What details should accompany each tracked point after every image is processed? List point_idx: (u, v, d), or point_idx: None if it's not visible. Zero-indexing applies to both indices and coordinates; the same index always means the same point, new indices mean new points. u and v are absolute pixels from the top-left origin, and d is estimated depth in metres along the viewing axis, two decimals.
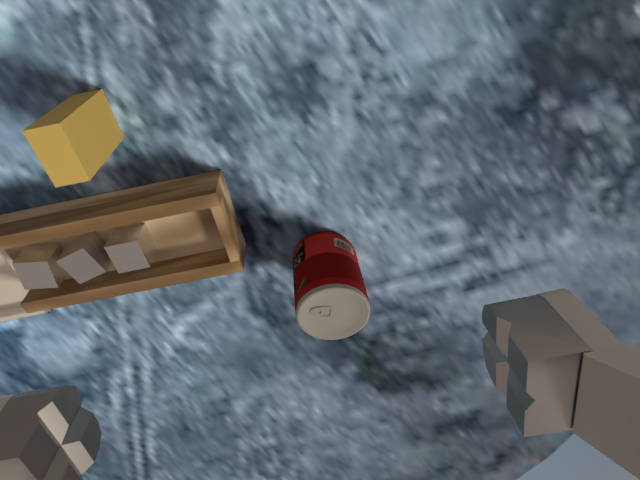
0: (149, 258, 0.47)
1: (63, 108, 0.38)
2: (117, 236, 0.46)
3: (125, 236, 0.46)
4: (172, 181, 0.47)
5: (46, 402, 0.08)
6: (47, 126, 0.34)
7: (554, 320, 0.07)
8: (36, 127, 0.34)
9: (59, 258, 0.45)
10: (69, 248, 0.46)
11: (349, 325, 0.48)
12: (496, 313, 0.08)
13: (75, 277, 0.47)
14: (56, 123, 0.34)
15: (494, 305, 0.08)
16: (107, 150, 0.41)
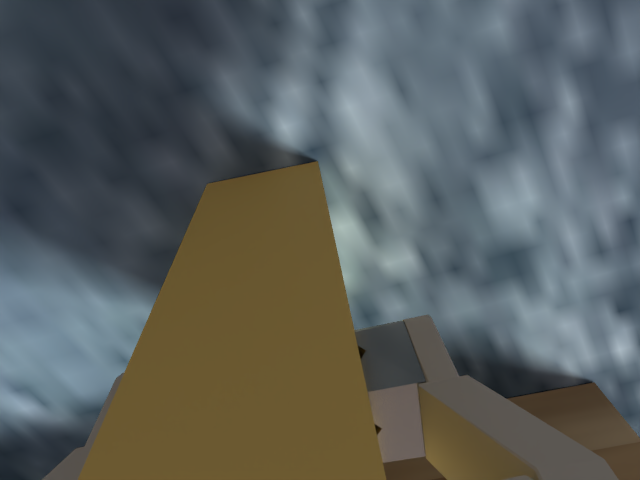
0: None
1: (235, 280, 0.07)
2: None
3: None
4: None
5: None
6: None
7: (405, 348, 0.07)
8: None
9: None
10: None
11: None
12: (356, 340, 0.08)
13: None
14: None
15: (357, 331, 0.08)
16: None
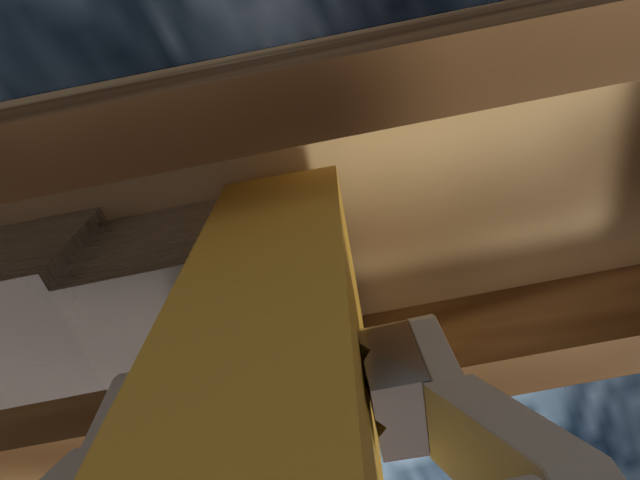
0: None
1: (241, 288, 0.07)
2: (114, 246, 0.11)
3: (152, 242, 0.11)
4: None
5: None
6: None
7: (410, 347, 0.07)
8: None
9: None
10: None
11: None
12: (360, 339, 0.08)
13: None
14: None
15: (361, 330, 0.08)
16: (376, 432, 0.09)
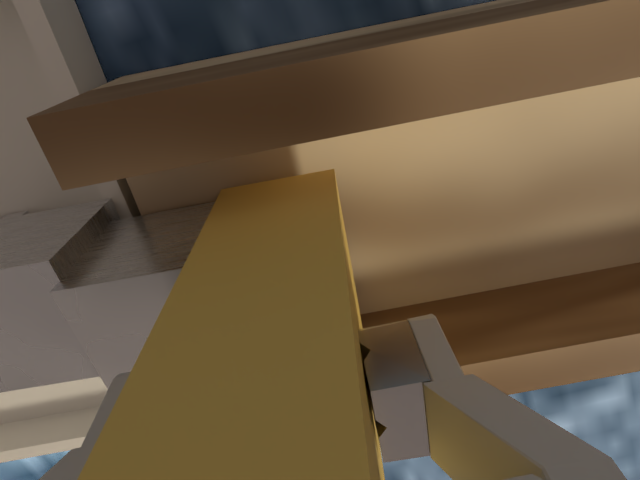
0: None
1: (239, 297, 0.07)
2: (117, 246, 0.11)
3: (154, 244, 0.11)
4: None
5: None
6: None
7: (410, 347, 0.07)
8: None
9: None
10: None
11: None
12: (360, 339, 0.08)
13: None
14: None
15: (362, 330, 0.08)
16: (378, 441, 0.09)
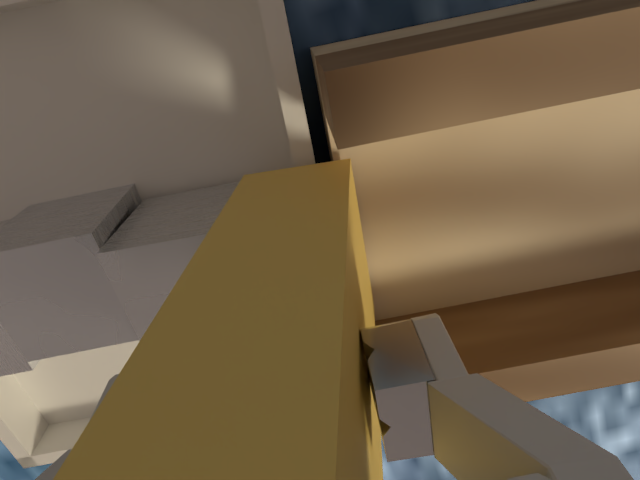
0: None
1: (247, 270, 0.08)
2: (152, 218, 0.12)
3: (184, 216, 0.12)
4: None
5: None
6: None
7: (414, 347, 0.07)
8: None
9: None
10: (27, 225, 0.12)
11: None
12: (364, 338, 0.08)
13: (18, 337, 0.12)
14: None
15: (365, 330, 0.08)
16: (377, 417, 0.10)
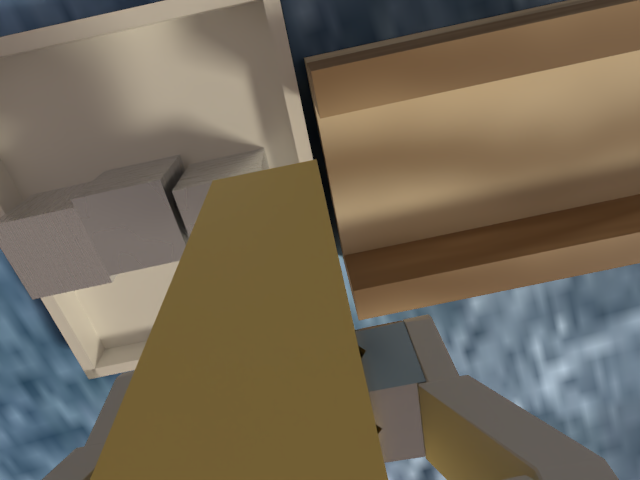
0: None
1: (242, 265, 0.08)
2: (201, 172, 0.18)
3: (224, 169, 0.18)
4: None
5: None
6: None
7: (405, 348, 0.07)
8: None
9: (82, 194, 0.17)
10: (110, 180, 0.18)
11: None
12: None
13: (105, 256, 0.18)
14: None
15: (357, 331, 0.08)
16: None
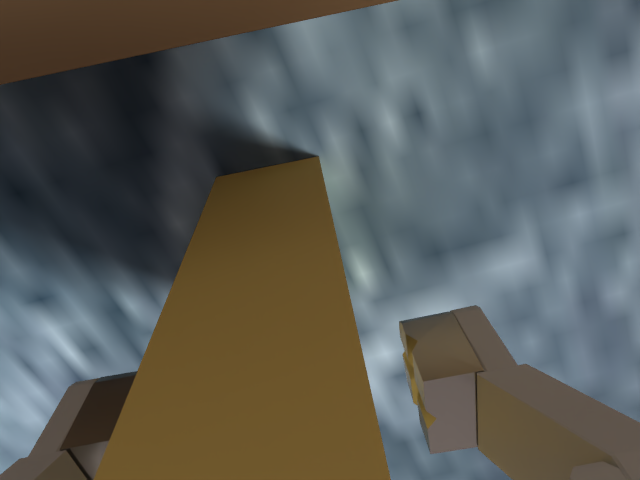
0: None
1: (245, 258, 0.08)
2: None
3: None
4: None
5: None
6: None
7: (458, 338, 0.07)
8: None
9: None
10: None
11: None
12: (405, 330, 0.08)
13: None
14: None
15: (406, 322, 0.08)
16: None
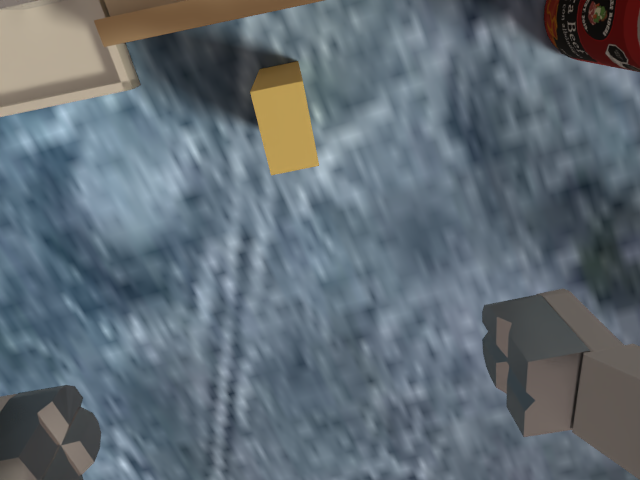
0: None
1: (274, 75, 0.29)
2: None
3: None
4: None
5: (47, 402, 0.08)
6: (285, 85, 0.24)
7: (554, 320, 0.07)
8: (268, 87, 0.25)
9: None
10: None
11: None
12: (496, 313, 0.08)
13: None
14: (296, 82, 0.24)
15: (494, 305, 0.08)
16: None
